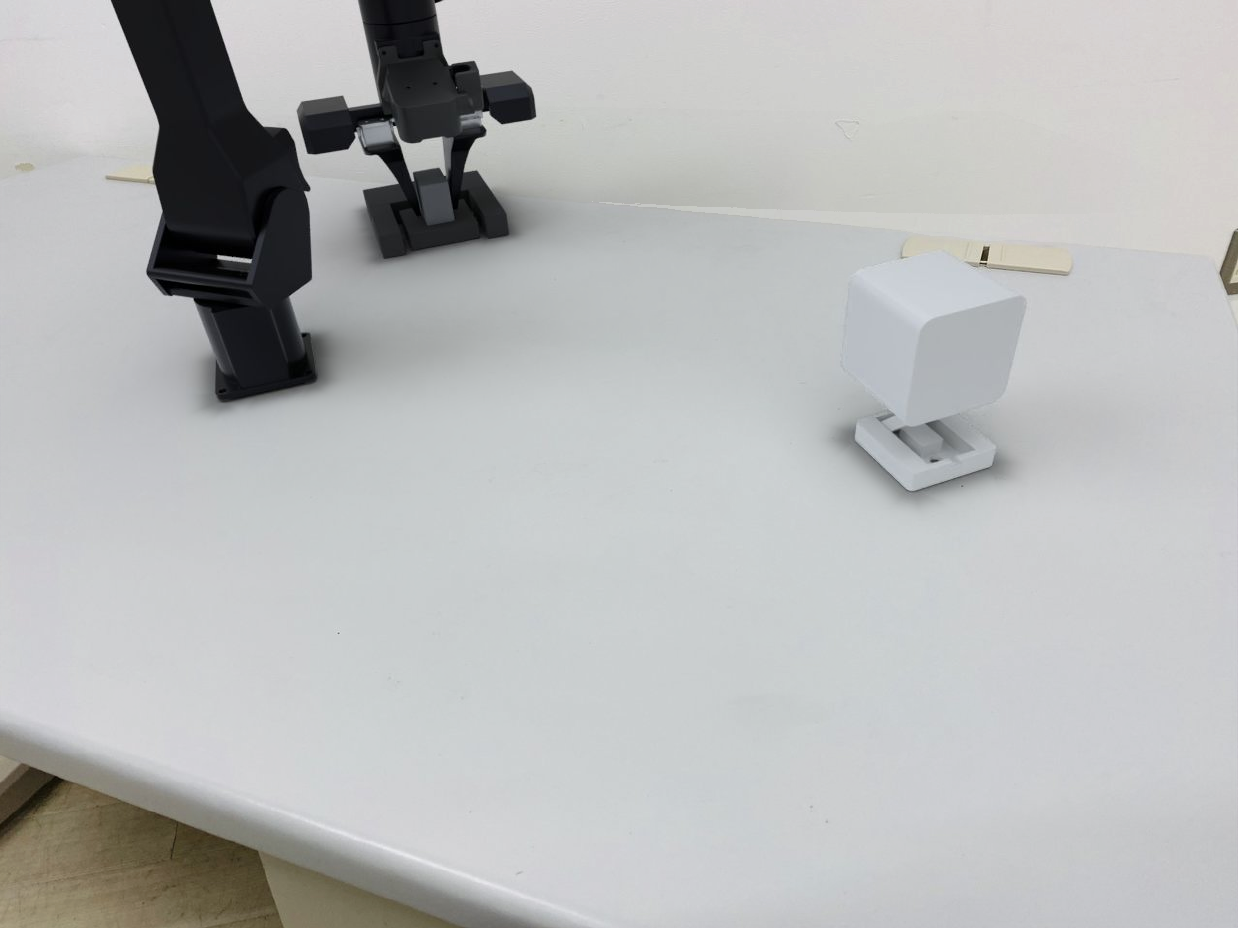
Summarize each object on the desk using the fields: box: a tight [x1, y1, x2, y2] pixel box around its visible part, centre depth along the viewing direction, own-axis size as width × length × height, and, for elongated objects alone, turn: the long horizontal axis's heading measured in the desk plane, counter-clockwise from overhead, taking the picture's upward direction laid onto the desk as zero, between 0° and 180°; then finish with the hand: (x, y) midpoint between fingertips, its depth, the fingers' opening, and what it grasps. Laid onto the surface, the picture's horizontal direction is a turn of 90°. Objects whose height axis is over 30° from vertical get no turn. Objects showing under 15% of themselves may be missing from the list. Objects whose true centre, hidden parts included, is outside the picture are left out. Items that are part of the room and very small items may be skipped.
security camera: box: [839, 249, 1028, 492], centre depth 48 cm, size 6×7×10 cm
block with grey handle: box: [399, 167, 481, 251], centre depth 78 cm, size 6×6×5 cm
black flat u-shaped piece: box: [362, 169, 510, 259], centre depth 81 cm, size 12×11×2 cm
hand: (436, 211), depth 78 cm, fingers open, 3 cm apart
